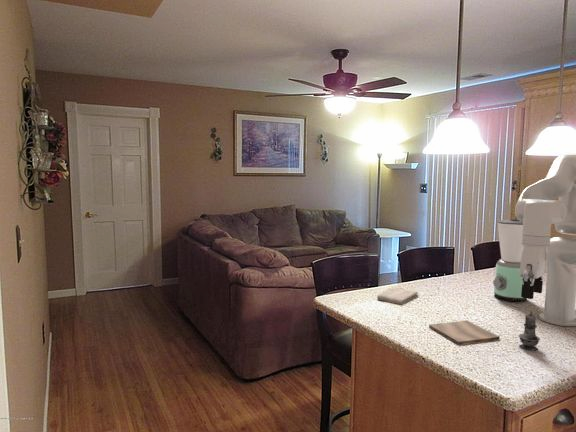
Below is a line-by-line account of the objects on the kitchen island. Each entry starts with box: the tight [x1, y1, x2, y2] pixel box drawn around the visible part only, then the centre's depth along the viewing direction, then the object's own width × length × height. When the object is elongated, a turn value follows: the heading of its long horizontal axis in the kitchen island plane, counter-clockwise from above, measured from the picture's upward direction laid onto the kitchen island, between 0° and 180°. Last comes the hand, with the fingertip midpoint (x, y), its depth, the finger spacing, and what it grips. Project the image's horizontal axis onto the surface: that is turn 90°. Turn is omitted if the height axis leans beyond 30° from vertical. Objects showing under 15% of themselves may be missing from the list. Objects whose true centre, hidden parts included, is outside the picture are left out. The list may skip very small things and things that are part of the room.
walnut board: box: [428, 320, 500, 346], centre depth 148 cm, size 16×16×1 cm
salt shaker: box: [518, 311, 541, 352], centre depth 135 cm, size 6×6×12 cm
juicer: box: [492, 218, 528, 303], centre depth 187 cm, size 19×13×35 cm
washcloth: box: [376, 286, 419, 306], centre depth 189 cm, size 12×18×3 cm, turn 141°
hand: (531, 295), depth 133 cm, fingers open, 9 cm apart
